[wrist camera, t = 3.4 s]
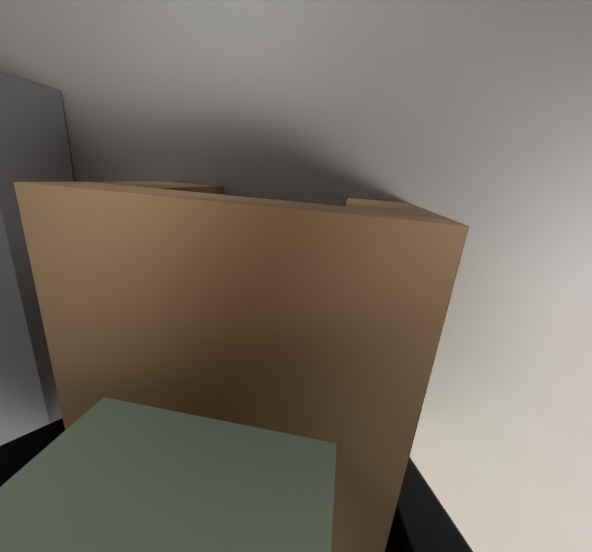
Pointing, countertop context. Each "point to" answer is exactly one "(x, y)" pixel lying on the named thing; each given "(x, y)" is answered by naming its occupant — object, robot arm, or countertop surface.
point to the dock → (26, 252)
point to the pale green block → (170, 487)
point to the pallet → (250, 317)
